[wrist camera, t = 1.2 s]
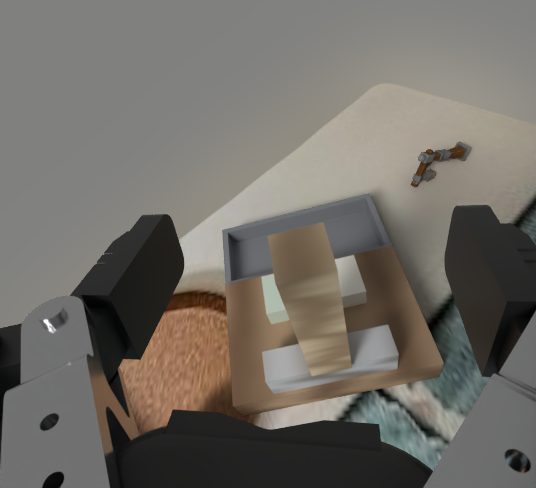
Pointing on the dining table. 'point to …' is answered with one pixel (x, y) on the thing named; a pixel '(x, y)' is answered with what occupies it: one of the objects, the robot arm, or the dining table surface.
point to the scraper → (318, 318)
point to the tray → (332, 215)
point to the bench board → (356, 319)
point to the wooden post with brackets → (440, 155)
